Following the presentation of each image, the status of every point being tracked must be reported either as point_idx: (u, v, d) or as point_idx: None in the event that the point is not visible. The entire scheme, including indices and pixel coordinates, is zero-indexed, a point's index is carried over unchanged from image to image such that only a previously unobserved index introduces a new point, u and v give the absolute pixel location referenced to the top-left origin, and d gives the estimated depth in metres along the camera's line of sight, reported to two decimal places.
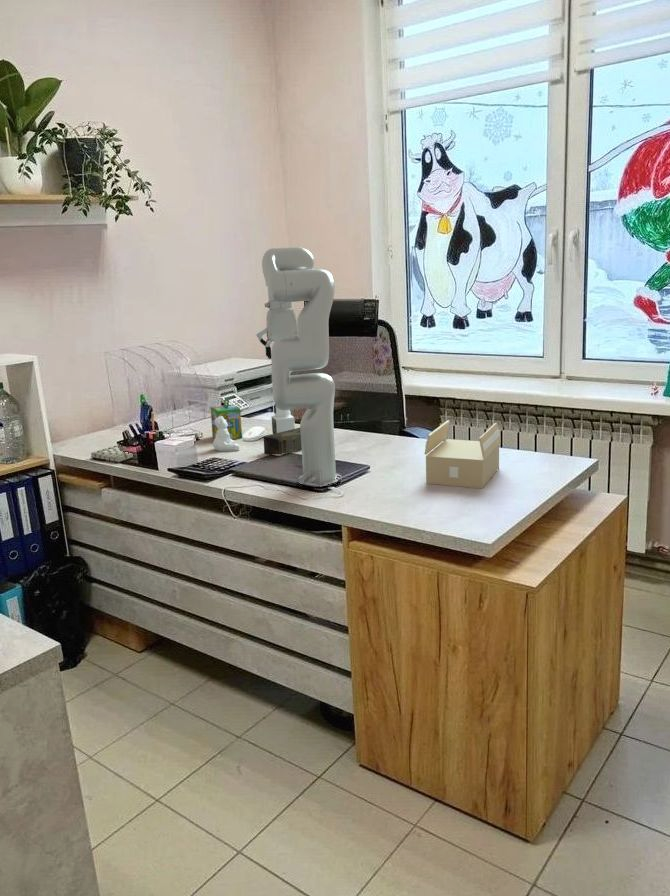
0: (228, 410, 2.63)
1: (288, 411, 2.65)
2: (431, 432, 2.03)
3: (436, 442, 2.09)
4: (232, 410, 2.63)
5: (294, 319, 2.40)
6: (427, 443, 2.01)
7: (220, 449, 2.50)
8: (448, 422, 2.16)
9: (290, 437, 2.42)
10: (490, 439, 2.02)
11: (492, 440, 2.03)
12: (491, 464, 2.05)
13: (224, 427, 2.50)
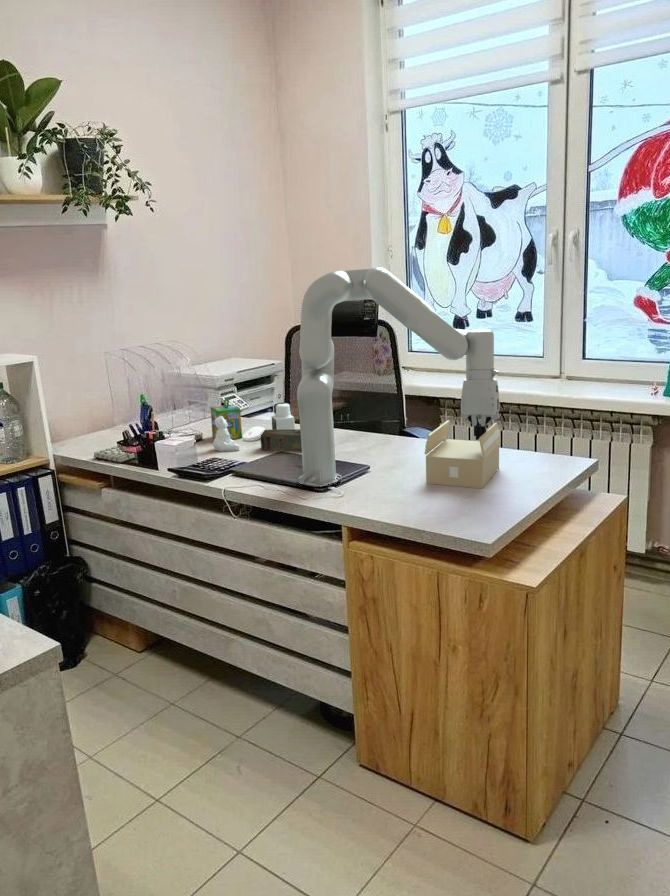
0: (228, 410, 2.63)
1: (288, 411, 2.65)
2: (431, 432, 2.03)
3: (436, 442, 2.09)
4: (232, 410, 2.63)
5: None
6: (427, 443, 2.01)
7: (220, 449, 2.50)
8: (448, 422, 2.16)
9: (277, 435, 2.45)
10: (490, 439, 2.02)
11: (492, 440, 2.03)
12: (491, 464, 2.05)
13: (224, 427, 2.50)
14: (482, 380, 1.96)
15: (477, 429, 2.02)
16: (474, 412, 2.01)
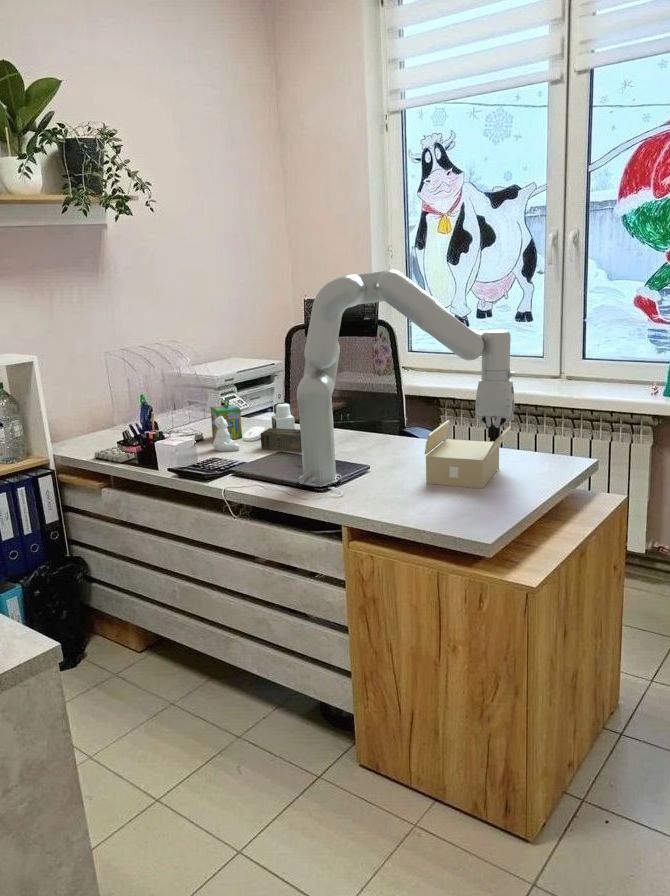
0: (228, 410, 2.63)
1: (288, 411, 2.65)
2: (431, 432, 2.03)
3: (436, 442, 2.09)
4: (232, 410, 2.63)
5: None
6: (427, 443, 2.01)
7: (220, 449, 2.50)
8: (448, 422, 2.16)
9: (275, 434, 2.46)
10: (499, 443, 2.01)
11: (499, 443, 2.03)
12: (491, 464, 2.05)
13: (224, 427, 2.50)
14: (498, 381, 1.95)
15: (491, 430, 2.01)
16: (489, 413, 1.99)
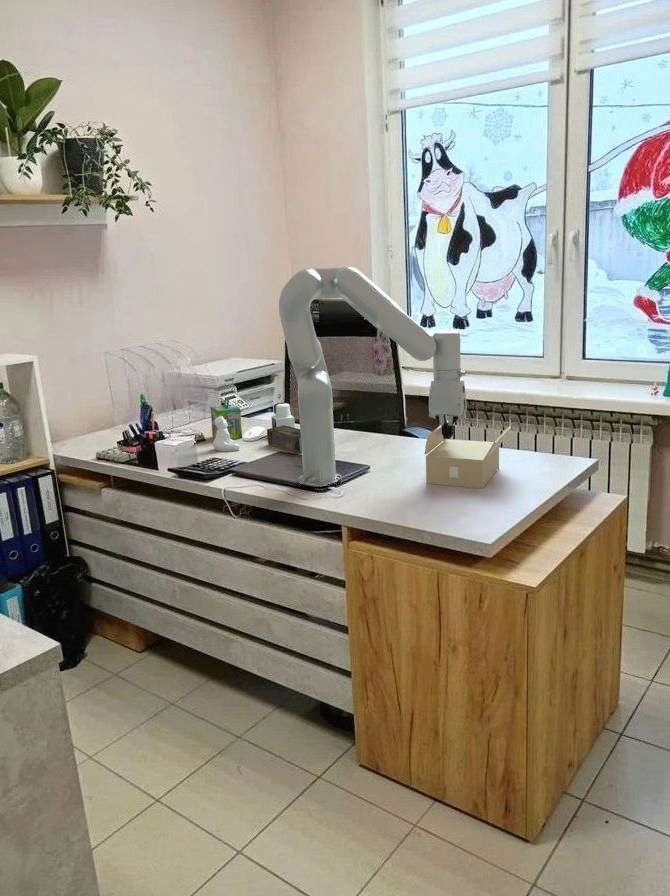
0: (228, 410, 2.63)
1: (288, 411, 2.65)
2: (431, 432, 2.03)
3: (436, 442, 2.09)
4: (232, 410, 2.63)
5: None
6: (427, 443, 2.01)
7: (220, 449, 2.50)
8: None
9: (276, 432, 2.50)
10: (499, 443, 2.01)
11: (499, 443, 2.03)
12: (491, 464, 2.05)
13: (224, 427, 2.50)
14: (448, 380, 2.00)
15: (444, 428, 2.06)
16: (441, 412, 2.05)
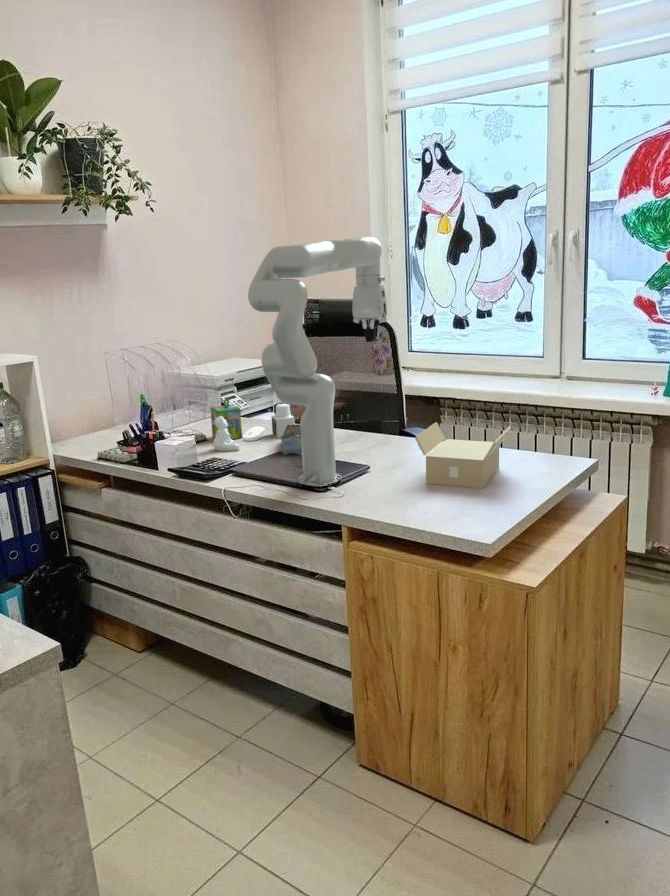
0: (228, 410, 2.63)
1: (288, 411, 2.65)
2: (418, 435, 2.05)
3: (432, 442, 2.10)
4: (232, 410, 2.63)
5: None
6: (419, 444, 2.02)
7: (220, 449, 2.50)
8: (436, 423, 2.18)
9: (285, 429, 2.54)
10: (499, 443, 2.01)
11: (499, 443, 2.03)
12: (491, 464, 2.05)
13: (224, 427, 2.50)
14: (369, 285, 2.17)
15: (367, 332, 2.23)
16: (364, 315, 2.22)
